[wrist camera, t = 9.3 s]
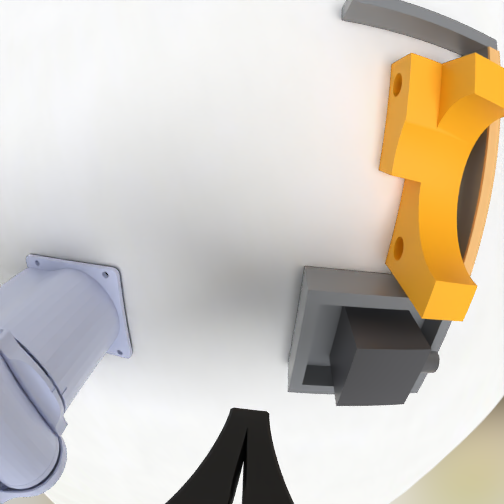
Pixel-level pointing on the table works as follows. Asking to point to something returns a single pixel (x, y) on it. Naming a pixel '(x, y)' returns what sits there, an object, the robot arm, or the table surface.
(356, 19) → the grey piece
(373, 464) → the table surface
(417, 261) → the pipe clamp
